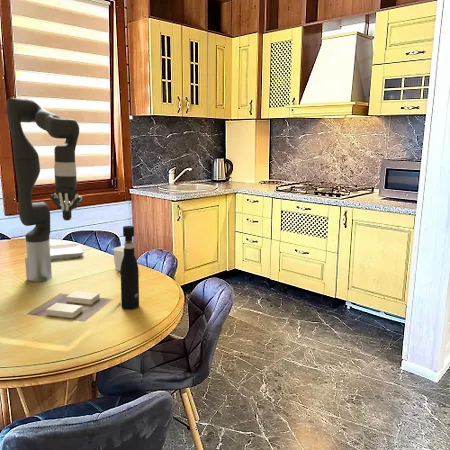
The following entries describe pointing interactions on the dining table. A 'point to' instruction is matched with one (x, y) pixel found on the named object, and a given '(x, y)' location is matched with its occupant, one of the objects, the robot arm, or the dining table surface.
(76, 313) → the tile terracotta
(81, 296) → the tile teal
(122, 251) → the white cup
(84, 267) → the dining table surface
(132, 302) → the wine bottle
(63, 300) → the board
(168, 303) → the dining table surface
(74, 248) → the salad plate
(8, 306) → the dining table surface
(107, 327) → the dining table surface
